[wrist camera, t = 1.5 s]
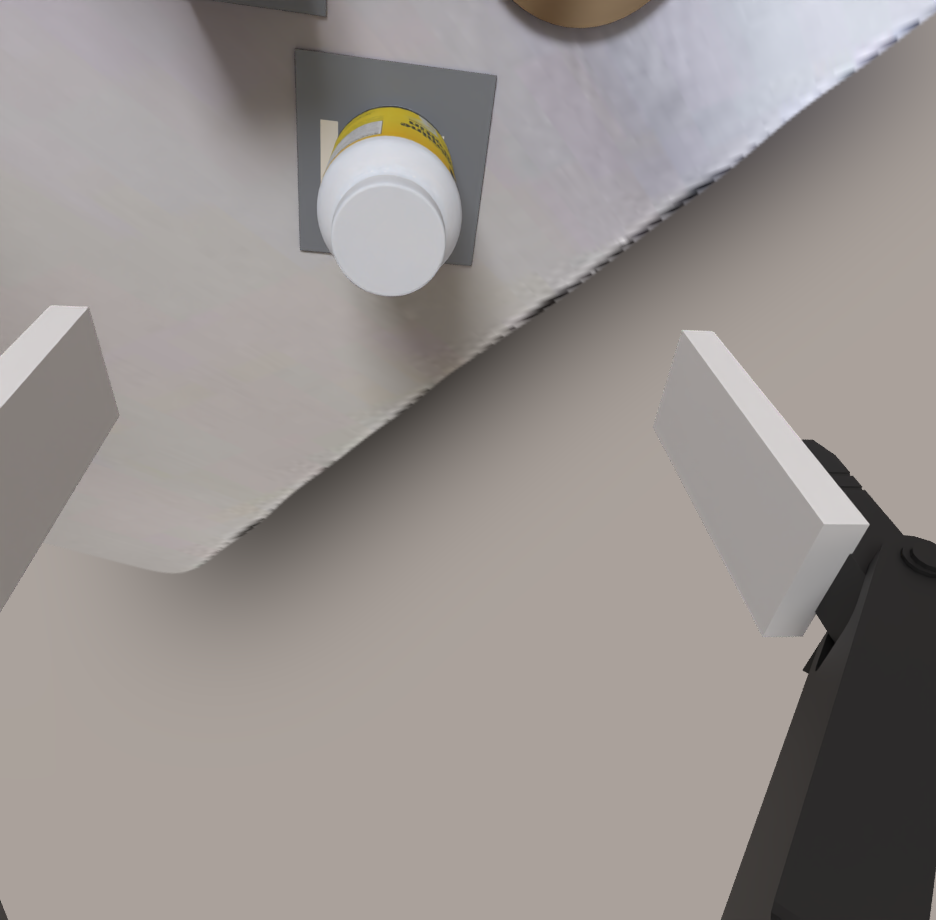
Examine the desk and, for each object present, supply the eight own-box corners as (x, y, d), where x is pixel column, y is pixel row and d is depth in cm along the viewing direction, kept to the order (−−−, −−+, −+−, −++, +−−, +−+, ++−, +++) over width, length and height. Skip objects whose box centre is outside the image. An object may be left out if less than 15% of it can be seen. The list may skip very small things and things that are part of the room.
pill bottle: (460, 217, 38) (480, 304, 29) (349, 237, 38) (333, 330, 29) (439, 90, 34) (455, 144, 25) (316, 114, 34) (285, 176, 25)
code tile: (300, 249, 38) (299, 249, 38) (295, 48, 32) (294, 48, 32) (471, 265, 40) (471, 265, 40) (496, 75, 34) (496, 75, 34)
